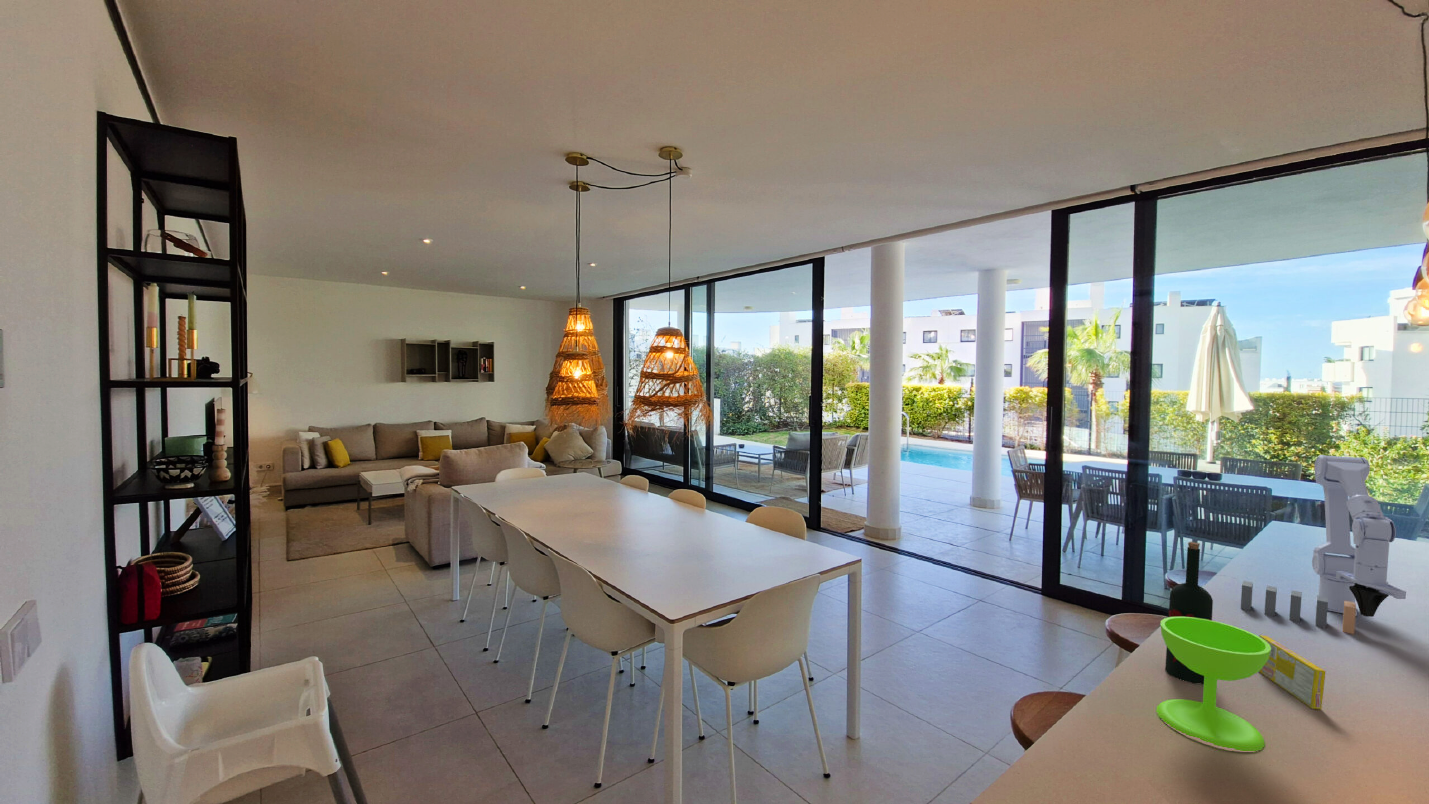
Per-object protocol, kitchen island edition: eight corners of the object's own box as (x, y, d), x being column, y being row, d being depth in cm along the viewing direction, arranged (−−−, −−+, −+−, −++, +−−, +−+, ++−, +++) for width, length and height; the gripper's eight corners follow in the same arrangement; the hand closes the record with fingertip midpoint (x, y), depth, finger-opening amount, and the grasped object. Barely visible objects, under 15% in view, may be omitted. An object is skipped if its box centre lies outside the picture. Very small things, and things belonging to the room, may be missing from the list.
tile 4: (1265, 609, 167) (1267, 585, 167) (1275, 611, 166) (1276, 587, 166) (1264, 614, 164) (1266, 589, 164) (1274, 616, 163) (1275, 591, 162)
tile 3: (1290, 614, 164) (1291, 590, 163) (1300, 616, 162) (1301, 592, 162) (1289, 619, 160) (1291, 594, 160) (1299, 621, 159) (1301, 596, 159)
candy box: (1324, 710, 117) (1326, 670, 117) (1311, 709, 118) (1314, 669, 117) (1265, 670, 133) (1267, 634, 133) (1254, 669, 134) (1256, 633, 133)
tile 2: (1315, 620, 160) (1317, 595, 160) (1326, 622, 159) (1327, 597, 158) (1315, 625, 157) (1317, 600, 156) (1326, 627, 155) (1328, 602, 155)
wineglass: (1290, 753, 104) (1297, 655, 103) (1199, 752, 104) (1205, 653, 103) (1214, 702, 120) (1219, 616, 119) (1136, 701, 120) (1140, 615, 119)
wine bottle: (1155, 674, 130) (1161, 543, 129) (1172, 662, 136) (1178, 535, 134) (1199, 691, 124) (1206, 552, 122) (1215, 677, 130) (1222, 544, 128)
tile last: (1242, 603, 171) (1243, 580, 171) (1251, 606, 170) (1252, 582, 169) (1240, 608, 168) (1242, 584, 167) (1250, 610, 166) (1251, 586, 166)
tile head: (1342, 625, 157) (1344, 600, 156) (1353, 628, 155) (1355, 602, 155) (1342, 631, 153) (1344, 605, 153) (1354, 634, 152) (1356, 607, 151)
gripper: (1420, 574, 144) (1415, 627, 144) (1355, 555, 158) (1352, 604, 159) (1391, 573, 144) (1387, 627, 144) (1329, 555, 158) (1326, 604, 159)
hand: (1367, 615), depth 152 cm, fingers closed
